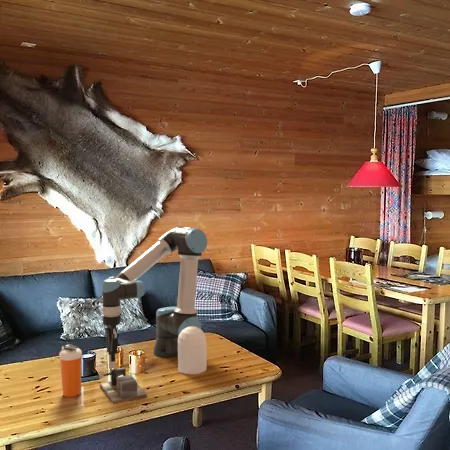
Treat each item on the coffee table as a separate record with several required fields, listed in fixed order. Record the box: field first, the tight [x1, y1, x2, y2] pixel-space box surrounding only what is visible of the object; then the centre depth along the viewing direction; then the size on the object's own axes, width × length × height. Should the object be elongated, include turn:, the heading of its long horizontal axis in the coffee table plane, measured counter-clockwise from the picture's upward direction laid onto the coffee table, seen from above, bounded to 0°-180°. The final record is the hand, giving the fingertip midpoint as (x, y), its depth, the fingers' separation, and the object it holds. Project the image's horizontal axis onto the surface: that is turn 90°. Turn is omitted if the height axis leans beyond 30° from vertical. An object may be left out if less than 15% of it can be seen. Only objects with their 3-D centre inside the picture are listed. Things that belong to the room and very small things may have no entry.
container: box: [177, 326, 208, 375], centre depth 235 cm, size 13×13×20 cm
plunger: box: [102, 367, 127, 385], centre depth 211 cm, size 9×9×6 cm
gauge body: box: [99, 374, 148, 405], centre depth 210 cm, size 20×14×7 cm
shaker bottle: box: [58, 343, 83, 398], centre depth 208 cm, size 9×9×20 cm
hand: (112, 367), depth 222 cm, fingers closed
